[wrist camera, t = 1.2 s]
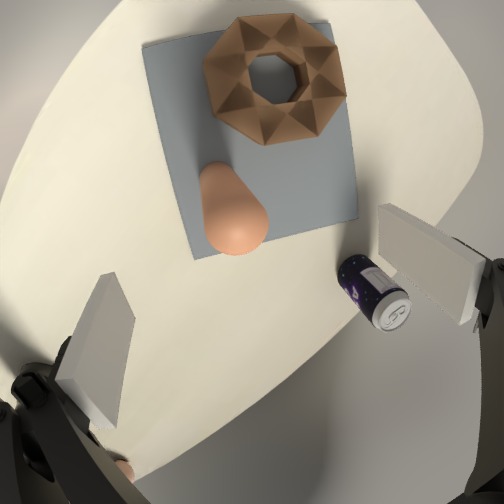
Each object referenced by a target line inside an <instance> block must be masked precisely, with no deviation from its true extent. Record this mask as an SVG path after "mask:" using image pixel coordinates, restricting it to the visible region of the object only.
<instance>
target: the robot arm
mask: <svg viewBox="0 0 504 504" xmlns="http://www.w3.org/2000/svg"><path fill="white" fill-rule="evenodd" d="M378 220H379V255H380V256H381V257H383V258H384V259H385V260H386V261H387V262H389V263H390V264H391V265H392V266H393V267H394V268H396V269H397V270H398V271H399V272H400V273H401V274H403V275H404V276H405V277H406V278H407V279H408V280H410V281H411V282H412V283H413V284H414V285H415V286H416V287H418V288H419V289H420V290H421V291H422V292H423V293H424V294H425V295H426V296H428V297H429V298H430V299H431V300H432V301H433V302H434V303H435V304H437V306H439V307H440V308H441V309H442V310H443V311H444V312H445V313H446V314H447V315H448V316H449V317H450V318H451V319H452V320H454V322H456V323H457V324H458V325H461V324H463V323H465V322H466V321H468V320H470V319H471V317H472V314H473V310H474V307H476V308H477V309H478V310H480V311H479V314H478V318H477V321H476V324H475V327H474V330H473V333H475V332H476V329H477V328H478V327H479V336H480V348H481V349H480V350H481V372H482V396H481V419H480V432H479V442H478V451H477V458H476V464H475V467H474V470H473V472H472V473H471V475H470V477H469V479H468V482H467V484H466V487H465V491H464V493H462V494H461V495H460V496H458V497H456V498H455V499H453V500H452V501H451V502H449V503H448V504H504V259H503V258H501V259H500V258H499V259H496V260H494V261H491V260H490V259H488V258H487V257H485V256H484V255H482V254H481V253H479V252H478V251H476V250H474V249H472V248H471V247H470V246H468V245H465V243H463V242H461V241H460V240H458V239H456V238H453V237H450V236H448V235H447V234H445V233H443V232H442V231H440V230H438V229H437V228H435V227H433V226H431V225H430V224H428V223H426V222H424V221H422V220H421V219H419V218H417V217H415V216H413V215H411V214H410V213H408V212H406V211H404V210H402V209H400V208H398V207H396V206H395V205H393V204H391V203H389V204H384V205H380V206H378ZM135 319H136V318H135V316H134V314H133V312H132V310H131V308H130V305H129V303H128V301H127V299H126V297H125V295H124V293H123V290H122V288H121V286H120V284H119V281H118V279H117V277H116V274H115V272H112V273H108V274H104V275H101V276H100V278H99V280H98V282H97V284H96V286H95V288H94V290H93V292H92V294H91V296H90V298H89V300H88V302H87V304H86V306H85V308H84V310H83V313H82V315H81V317H80V319H79V321H78V324H77V326H76V328H75V330H74V333H73V335H72V336H69V337H68V338H67V339H66V340H65V341H64V343H63V344H62V345H61V347H60V350H59V352H58V356H57V357H56V359H55V363H54V364H53V367H52V366H49V365H46V364H41V363H30V364H27V365H25V366H24V367H23V368H22V370H21V372H20V374H19V376H18V377H17V378H16V379H15V381H14V382H13V384H12V387H11V394H12V395H13V396H14V397H15V398H16V399H17V405H16V408H15V410H14V409H13V408H12V407H11V406H10V404H9V403H8V402H4V401H3V400H2V399H1V398H0V504H69V502H70V504H151V503H150V502H149V501H148V500H147V499H146V498H145V497H144V496H143V495H142V494H141V493H140V492H139V491H138V490H137V488H136V487H135V486H134V485H133V484H132V483H131V481H130V480H129V479H128V478H127V477H126V476H125V474H124V473H123V472H122V471H121V470H120V468H119V467H118V466H117V465H116V463H115V462H114V461H113V460H112V458H111V457H110V456H109V455H108V453H107V452H106V451H105V449H104V448H103V447H102V445H101V444H100V442H99V441H98V440H97V438H96V437H95V435H94V434H93V433H92V432H91V431H90V430H89V423H90V421H91V422H92V423H93V424H94V425H95V426H96V427H97V428H98V429H116V427H117V419H118V412H119V404H120V398H121V391H122V385H123V379H124V373H125V368H126V362H127V357H128V352H129V347H130V342H131V337H132V332H133V328H134V323H135Z"/></svg>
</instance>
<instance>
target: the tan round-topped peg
mask: <svg viewBox="0 0 504 504" xmlns="http://www.w3.org/2000/svg"><path fill="white" fill-rule="evenodd" d="M199 182H200V192H201V202H202V212H203V221H204V230H205V234H206V237H207V239H208V241H209V243H210V244H211V245H212V246H213V247H214V248H215V249H216V250H218V251H219V252H221V253H224V254H227V255H243V254H246V253H249V252H251V251H253V250H254V249H256V248H257V247H258V246H259V245H260V244H261V243H262V242H263V240H264V239H265V237H266V235H267V232H268V227H269V220H268V215H267V212H266V210H265V208H264V207H263V205H262V204H261V203H260V202H259V200H258V199H257V198H256V197H255V196H254V194H253V193H252V192H251V191H250V190H249V188H248V187H247V186H246V185H245V184H244V182H243V181H242V180H241V179H240V178H239V176H238V175H237V174H236V173H235V172H234V170H233V169H232V168H231V167H230V166H229V165H228V164H226V163H224V162H220V161H215V162H211V163H209V164H207V165H206V166H205V167H204V168H203V169H202V171H201V173H200V177H199Z"/></svg>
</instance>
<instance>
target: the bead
mask: <svg viewBox="0 0 504 504" xmlns="http://www.w3.org/2000/svg"><path fill="white" fill-rule="evenodd" d="M271 55H276V56H278V57H279V58H280V59H282V60H283V61H285V62H286V63H288V64H289V65H290V66H292V67H293V69H294V74H295V79H296V84H297V88H296V90H295V91H294V92H293V94H292V95H291V97H290V98H289V99H288V101H287V102H286V103H282V104H275V105H273V104H271V103H270V102H268V101H267V100H266V99H264V98H263V97H261V96H260V95H258V94H257V93H255V92H254V91H252V86H251V81H250V76H249V72H248V66H249V65H250V64H251V63H252V61H253V60H254V59H255V57H262V56H271ZM202 69H203V74H204V79H205V83H206V88H207V93H208V97H209V102H210V107H211V111H212V116H214V117H215V118H217V119H219V120H220V121H222V122H223V123H225V124H227V125H228V126H230V127H231V128H233V129H235V130H236V131H238V132H239V133H241V134H243V135H244V136H246V137H247V138H249V139H250V140H252V141H253V142H255V143H257V144H260V145H263V146H267V145H273V144H278V143H284V142H289V141H295V140H301V139H307V138H314V137H318V136H319V135H320V134H321V132H322V131H323V129H324V128H325V126H326V125H327V123H328V122H329V121H330V119H331V118H332V116H333V115H334V113H335V112H336V111H337V109H338V108H339V106H340V105H341V103H342V102H343V101H344V99H345V98H346V96H347V95H346V89H345V83H344V78H343V72H342V67H341V62H340V57H339V53H338V48H337V46H336V45H335V44H334V43H332V42H331V41H330V40H329V39H327V38H326V37H325V36H324V35H322V34H321V33H320V32H318V31H317V30H316V29H315V28H313V27H312V26H310V25H309V24H308V23H306V22H305V21H304V20H302V19H301V18H299V17H298V16H296V15H295V14H294V13H292V14H270V15H257V16H246V17H238V18H237V19H236V20H235V21H234V22H233V23H232V25H231V26H230V27H229V28H228V29H227V30H226V32H225V33H224V34H223V35H222V36H221V38H220V39H219V40H218V41H217V43H216V44H215V45H214V46H213V48H212V49H211V50H210V51H209V53H208V54H207V55H206V57H205V58H204V59H203V65H202Z"/></svg>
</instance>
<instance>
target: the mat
mask: <svg viewBox="0 0 504 504" xmlns="http://www.w3.org/2000/svg"><path fill="white" fill-rule="evenodd" d="M308 24H309V25H310V26H312V27H313V28H315V29H316V30H317V31H318V32H320V33H321V34H322V35H324V36H325V37H326V38H327V39H329V40H330V41H331V42H332V43H334V44H335V41H334V37H333V33H332V29H331V25H330V23H308ZM225 32H226V30H222V31H216V32H210V33H204V34H199V35H194V36H189V37H185V38H181V39H176V40H172V41H168V42H164V43H161V44H157V45H153V46H150V47H146V48H143V49H142V54H143V59H144V65H145V70H146V75H147V80H148V84H149V89H150V94H151V98H152V103H153V107H154V112H155V116H156V121H157V125H158V129H159V133H160V138H161V142H162V146H163V150H164V154H165V158H166V162H167V166H168V169H169V173H170V177H171V181H172V185H173V188H174V192H175V196H176V199H177V203H178V206H179V210H180V213H181V217H182V220H183V224H184V227H185V231H186V234H187V238H188V241H189V244H190V248H191V251H192V254H193V257H194V260H197V259H201V258H204V257H208V256H212V255H216V254H220V253H221V252H219V251H218V250H216V249H215V248H214V247H213V246H212V245H211V244H210V243H209V241H208V239H207V237H206V234H205V230H204V221H203V212H202V202H201V192H200V182H199V177H200V173H201V171H202V169H203V168H204V167H205V166H206V165H207V164H209V163H211V162H215V161H220V162H224V163H226V164H228V165H229V166H230V167H231V168H232V169H233V170H234V172H235V173H236V174H237V175H238V176H239V178H240V179H241V180H242V181H243V182H244V184H245V185H246V186H247V187H248V188H249V190H250V191H251V192H252V193H253V194H254V196H255V197H256V198H257V199H258V200H259V202H260V203H261V204H262V205H263V207H264V208H265V210H266V212H267V215H268V220H269V227H268V232H267V235H266V237H265V239H264V240H263V242H267V241H271V240H275V239H279V238H283V237H287V236H291V235H294V234H298V233H302V232H306V231H310V230H314V229H318V228H322V227H326V226H330V225H334V224H338V223H342V222H346V221H350V220H354V219H358V204H357V189H356V177H355V166H354V157H353V148H352V139H351V131H350V124H349V117H348V110H347V104H346V98H345V99H344V101H343V102H342V103H341V105H340V106H339V108H338V109H337V111H336V112H335V113H334V115H333V116H332V118H331V119H330V121H329V122H328V123H327V125H326V126H325V128H324V129H323V131H322V132H321V134H320V135H319V136H318V137H314V138H307V139H301V140H295V141H289V142H284V143H278V144H273V145H267V146H263V145H260V144H257V143H255V142H253V141H252V140H250V139H249V138H247V137H246V136H244V135H243V134H241V133H239V132H238V131H236V130H235V129H233V128H231V127H230V126H228V125H227V124H225V123H223V122H222V121H220V120H219V119H217V118H215V117H214V116H212V111H211V107H210V102H209V97H208V93H207V88H206V83H205V79H204V74H203V69H202V65H203V59H204V58H205V57H206V55H207V54H208V53H209V51H210V50H211V49H212V48H213V46H214V45H215V44H216V43H217V41H218V40H219V39H220V38H221V36H222V35H223V34H224V33H225ZM248 72H249V76H250V81H251V86H252V91H254V92H255V93H257V94H258V95H260V96H261V97H263V98H264V99H266V100H267V101H268V102H270V103H271V104H273V105H275V104H282V103H286V102H287V101H288V99H289V98H290V97H291V95H292V94H293V92H294V91H295V90H296V88H297V84H296V79H295V74H294V69H293V67H292V66H290V65H289V64H288V63H286V62H285V61H283V60H282V59H280V58H279V57H278V56H276V55H271V56H262V57H255V59H254V60H253V61H252V63H251V64H250V65H249V66H248ZM263 242H262V243H263Z"/></svg>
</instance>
